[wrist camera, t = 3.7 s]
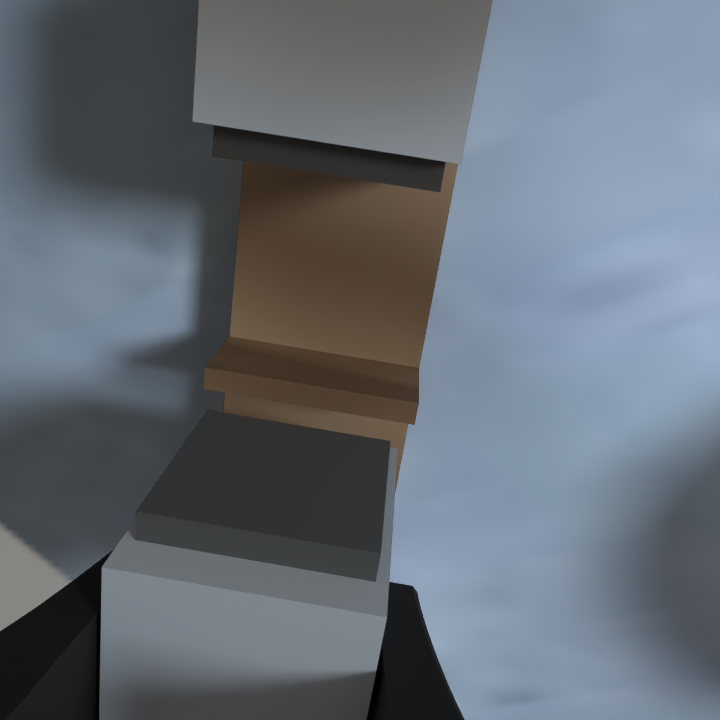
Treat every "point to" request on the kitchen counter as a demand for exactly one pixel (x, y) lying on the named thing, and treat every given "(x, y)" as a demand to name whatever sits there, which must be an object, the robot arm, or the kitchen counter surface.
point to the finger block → (252, 578)
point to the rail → (335, 197)
